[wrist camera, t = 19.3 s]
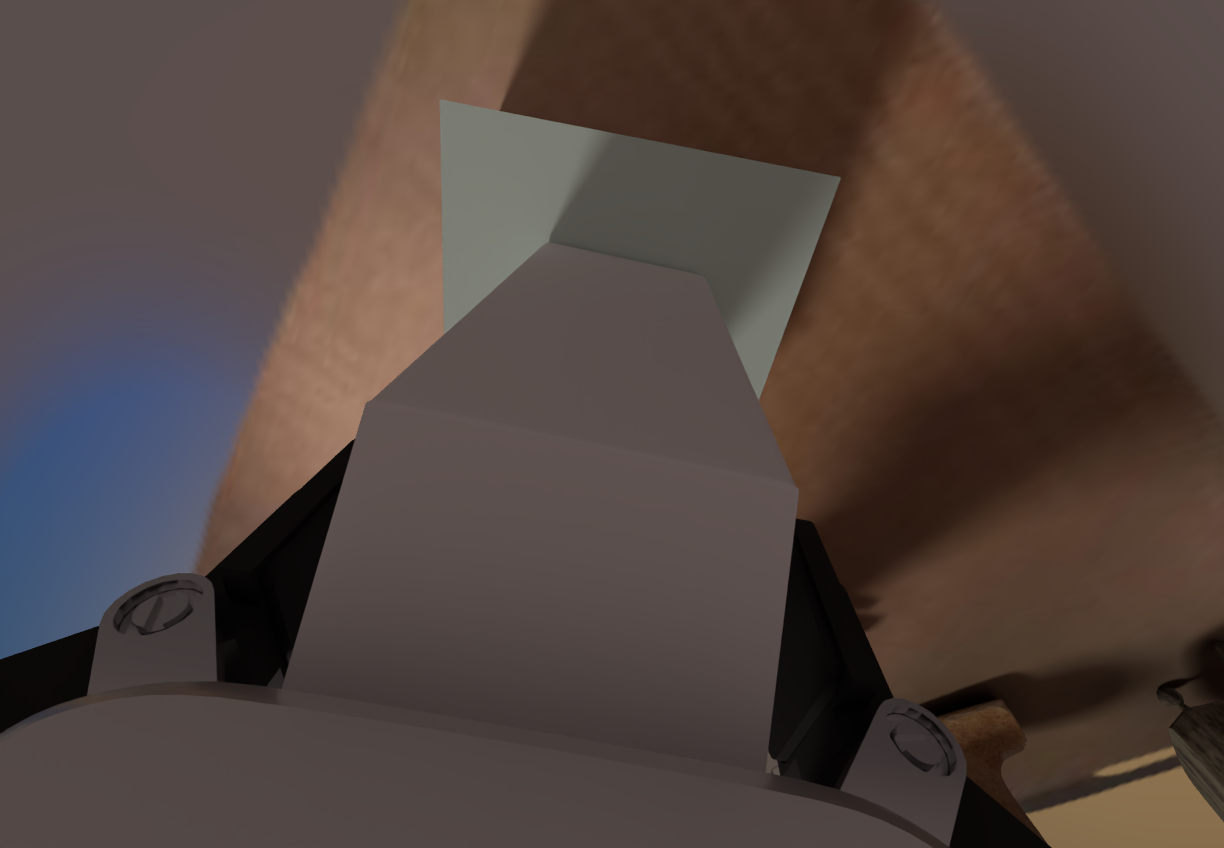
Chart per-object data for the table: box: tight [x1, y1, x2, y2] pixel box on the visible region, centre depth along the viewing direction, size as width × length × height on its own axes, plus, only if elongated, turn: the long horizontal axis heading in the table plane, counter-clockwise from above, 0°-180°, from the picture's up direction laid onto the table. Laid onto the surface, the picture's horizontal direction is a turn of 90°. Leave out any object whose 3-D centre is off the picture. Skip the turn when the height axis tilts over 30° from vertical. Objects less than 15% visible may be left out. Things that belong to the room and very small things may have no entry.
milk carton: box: [282, 243, 799, 772], centre depth 14 cm, size 7×7×19 cm
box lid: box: [440, 100, 841, 400], centre depth 22 cm, size 16×16×1 cm
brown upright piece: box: [936, 699, 1046, 843], centre depth 44 cm, size 15×12×15 cm
